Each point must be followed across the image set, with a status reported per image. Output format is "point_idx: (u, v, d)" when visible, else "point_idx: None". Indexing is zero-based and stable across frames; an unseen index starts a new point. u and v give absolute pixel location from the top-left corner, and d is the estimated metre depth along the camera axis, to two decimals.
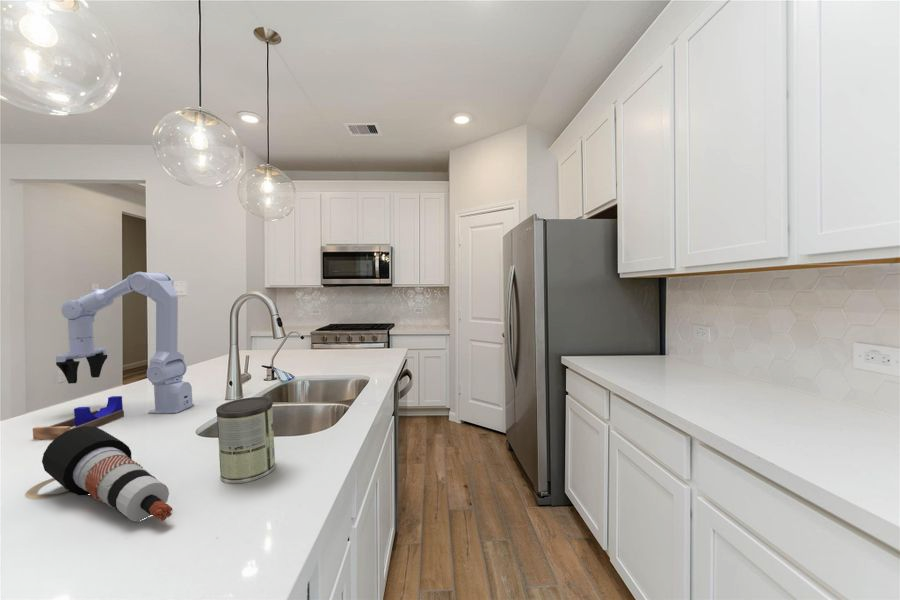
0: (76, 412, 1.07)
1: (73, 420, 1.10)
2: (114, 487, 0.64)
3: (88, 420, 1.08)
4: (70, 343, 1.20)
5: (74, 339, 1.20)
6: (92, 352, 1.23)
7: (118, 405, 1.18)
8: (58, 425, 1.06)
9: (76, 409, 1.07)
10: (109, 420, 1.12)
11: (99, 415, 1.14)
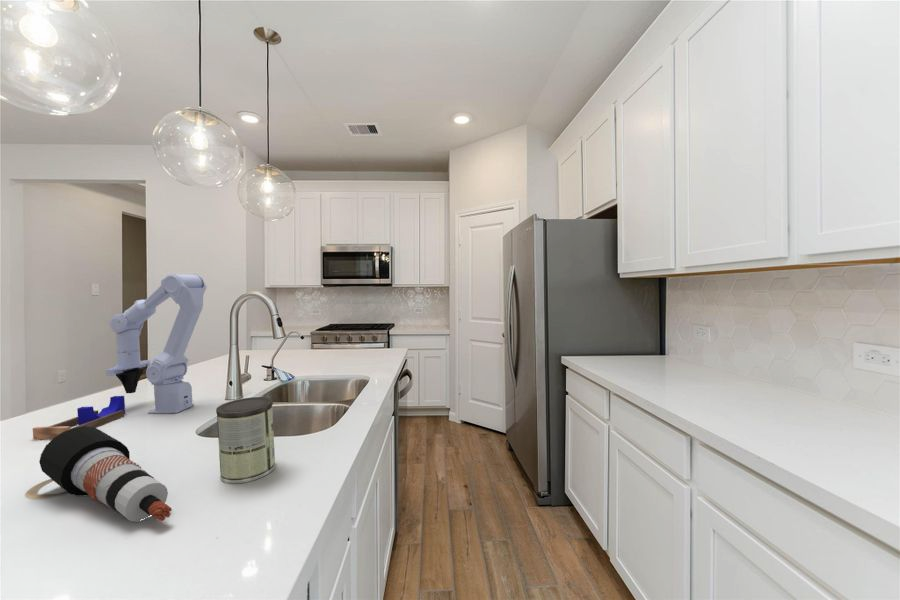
0: (79, 412, 1.07)
1: (73, 420, 1.10)
2: (113, 487, 0.64)
3: (91, 420, 1.08)
4: (118, 356, 1.22)
5: (122, 352, 1.22)
6: (139, 365, 1.25)
7: (120, 405, 1.18)
8: (58, 425, 1.06)
9: (79, 409, 1.07)
10: (109, 420, 1.12)
11: (102, 415, 1.15)
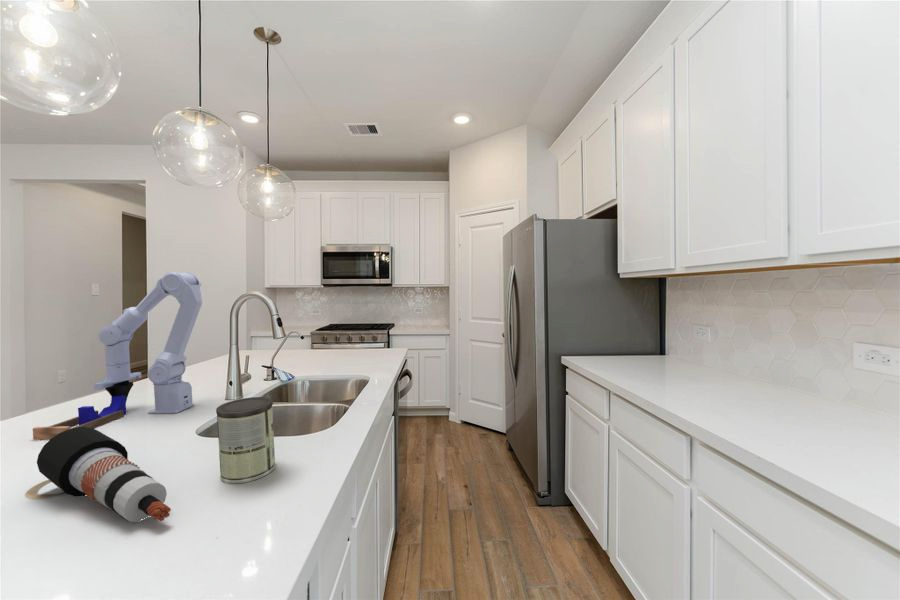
0: (80, 411, 1.07)
1: (73, 420, 1.10)
2: (111, 488, 0.64)
3: (92, 419, 1.08)
4: (107, 369, 1.18)
5: (111, 365, 1.18)
6: (129, 378, 1.21)
7: (121, 404, 1.18)
8: (58, 425, 1.06)
9: (80, 408, 1.07)
10: (109, 420, 1.12)
11: (103, 414, 1.15)
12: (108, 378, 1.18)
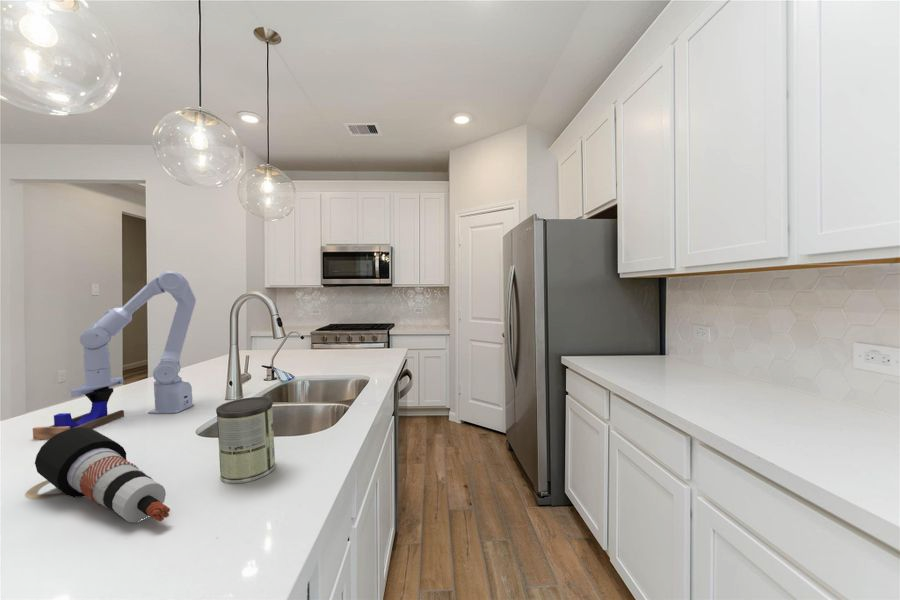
0: (56, 419, 1.01)
1: (73, 420, 1.10)
2: (110, 488, 0.64)
3: None
4: (86, 375, 1.11)
5: (90, 370, 1.11)
6: (109, 384, 1.14)
7: (102, 411, 1.12)
8: None
9: (56, 416, 1.01)
10: (109, 420, 1.12)
11: (82, 422, 1.08)
12: (87, 384, 1.11)
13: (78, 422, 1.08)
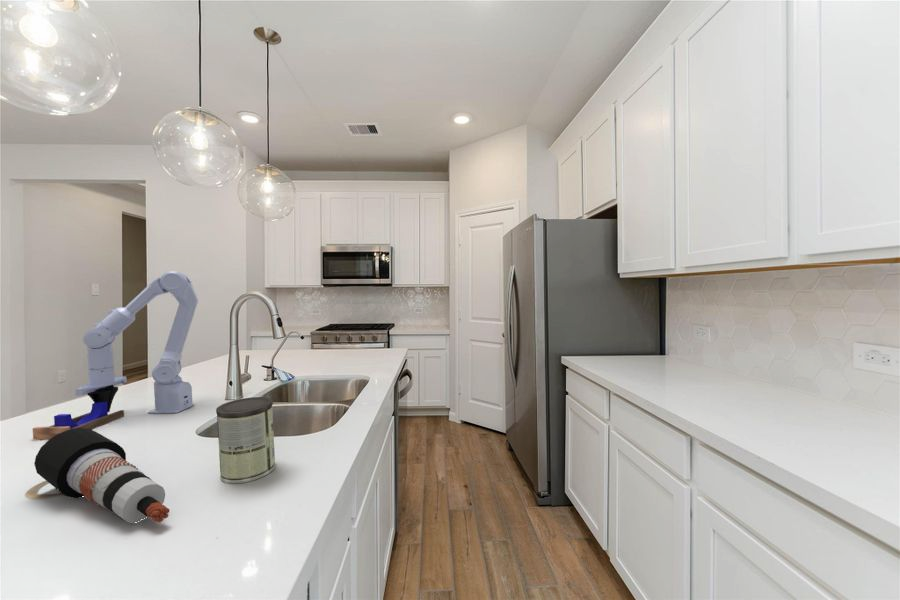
0: (56, 420, 1.01)
1: (73, 420, 1.10)
2: (109, 489, 0.64)
3: None
4: (90, 374, 1.13)
5: (94, 370, 1.12)
6: (113, 383, 1.15)
7: (103, 412, 1.12)
8: None
9: (56, 416, 1.01)
10: (109, 420, 1.12)
11: (82, 422, 1.08)
12: (91, 383, 1.13)
13: (78, 423, 1.08)
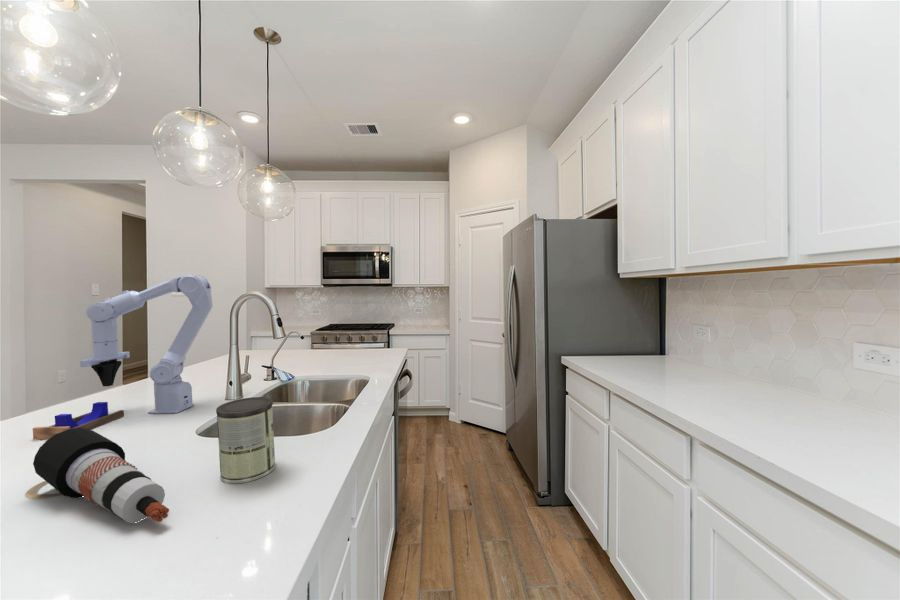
0: (57, 420, 1.01)
1: None
2: (109, 489, 0.64)
3: (70, 428, 1.02)
4: (94, 347, 1.15)
5: (98, 343, 1.14)
6: (116, 356, 1.17)
7: (103, 412, 1.12)
8: None
9: (57, 416, 1.01)
10: (109, 420, 1.12)
11: (83, 422, 1.08)
12: (95, 356, 1.15)
13: (79, 423, 1.08)
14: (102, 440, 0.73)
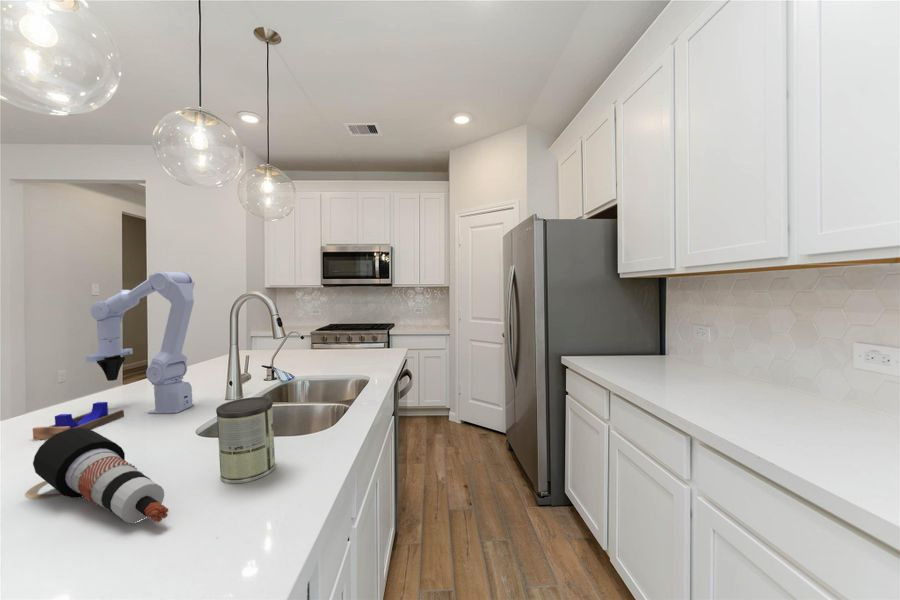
0: (57, 420, 1.01)
1: None
2: (108, 489, 0.64)
3: (70, 428, 1.02)
4: (99, 344, 1.22)
5: (103, 340, 1.22)
6: (120, 352, 1.25)
7: (103, 412, 1.12)
8: None
9: (57, 416, 1.01)
10: (109, 420, 1.12)
11: (83, 422, 1.08)
12: (100, 352, 1.22)
13: (79, 423, 1.08)
14: (102, 440, 0.73)
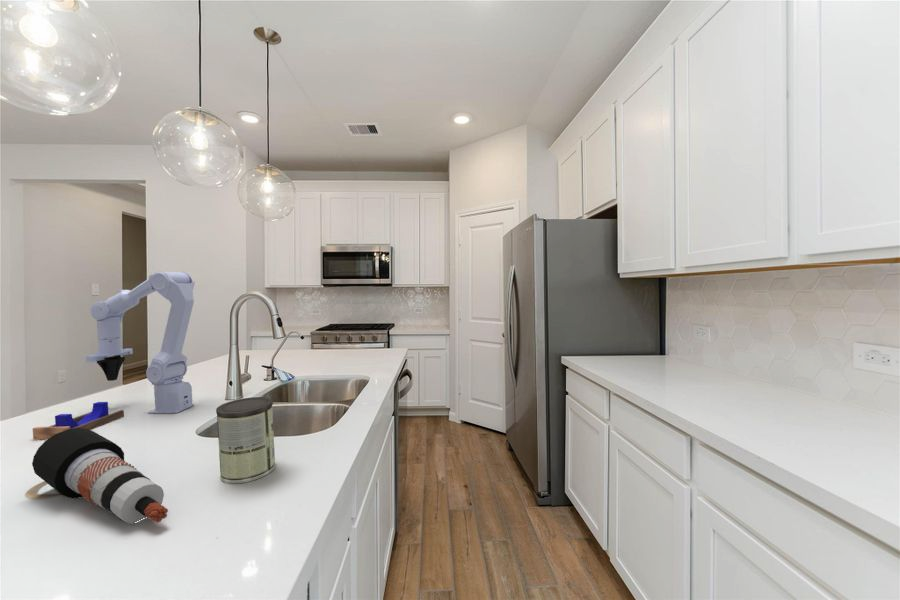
0: (57, 419, 1.01)
1: None
2: (108, 489, 0.64)
3: (70, 428, 1.02)
4: (99, 344, 1.22)
5: (103, 340, 1.22)
6: (120, 352, 1.25)
7: (103, 411, 1.12)
8: None
9: (57, 416, 1.01)
10: (109, 420, 1.12)
11: (83, 422, 1.08)
12: (100, 352, 1.22)
13: (79, 423, 1.08)
14: (101, 440, 0.73)
